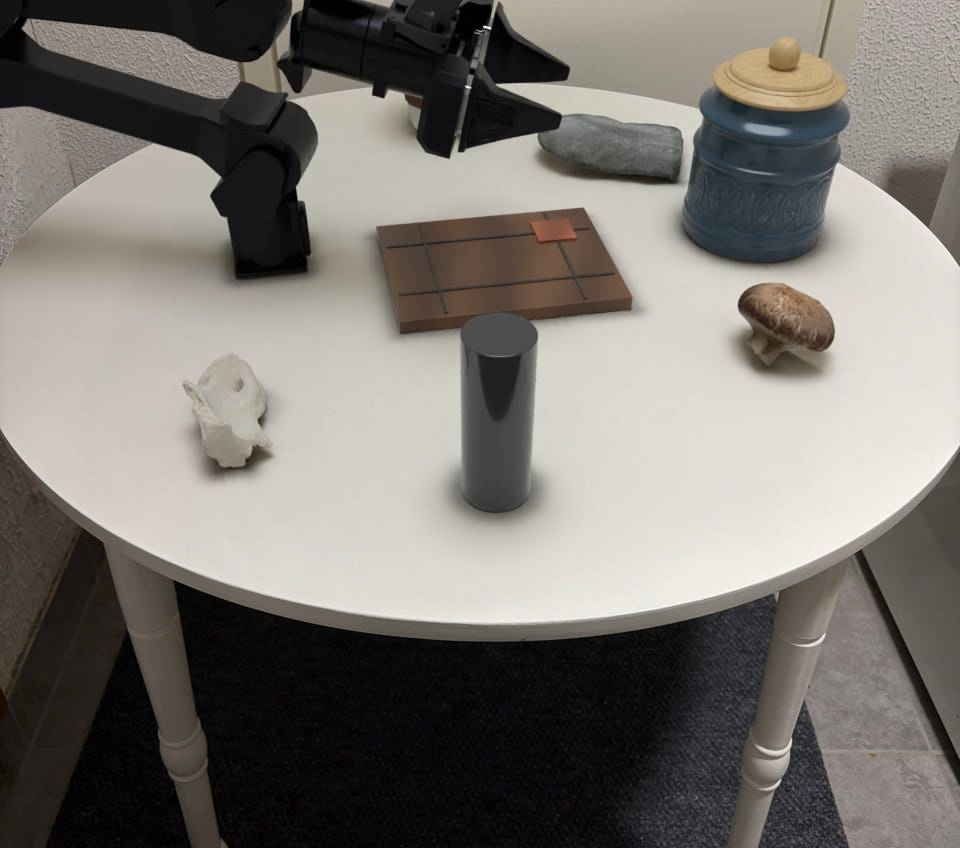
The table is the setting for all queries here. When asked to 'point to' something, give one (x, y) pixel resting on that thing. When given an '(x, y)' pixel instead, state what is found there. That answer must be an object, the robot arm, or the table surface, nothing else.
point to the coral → (229, 410)
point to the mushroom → (784, 320)
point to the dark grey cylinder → (497, 409)
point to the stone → (616, 145)
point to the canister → (765, 154)
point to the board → (499, 269)
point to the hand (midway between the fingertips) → (565, 96)
